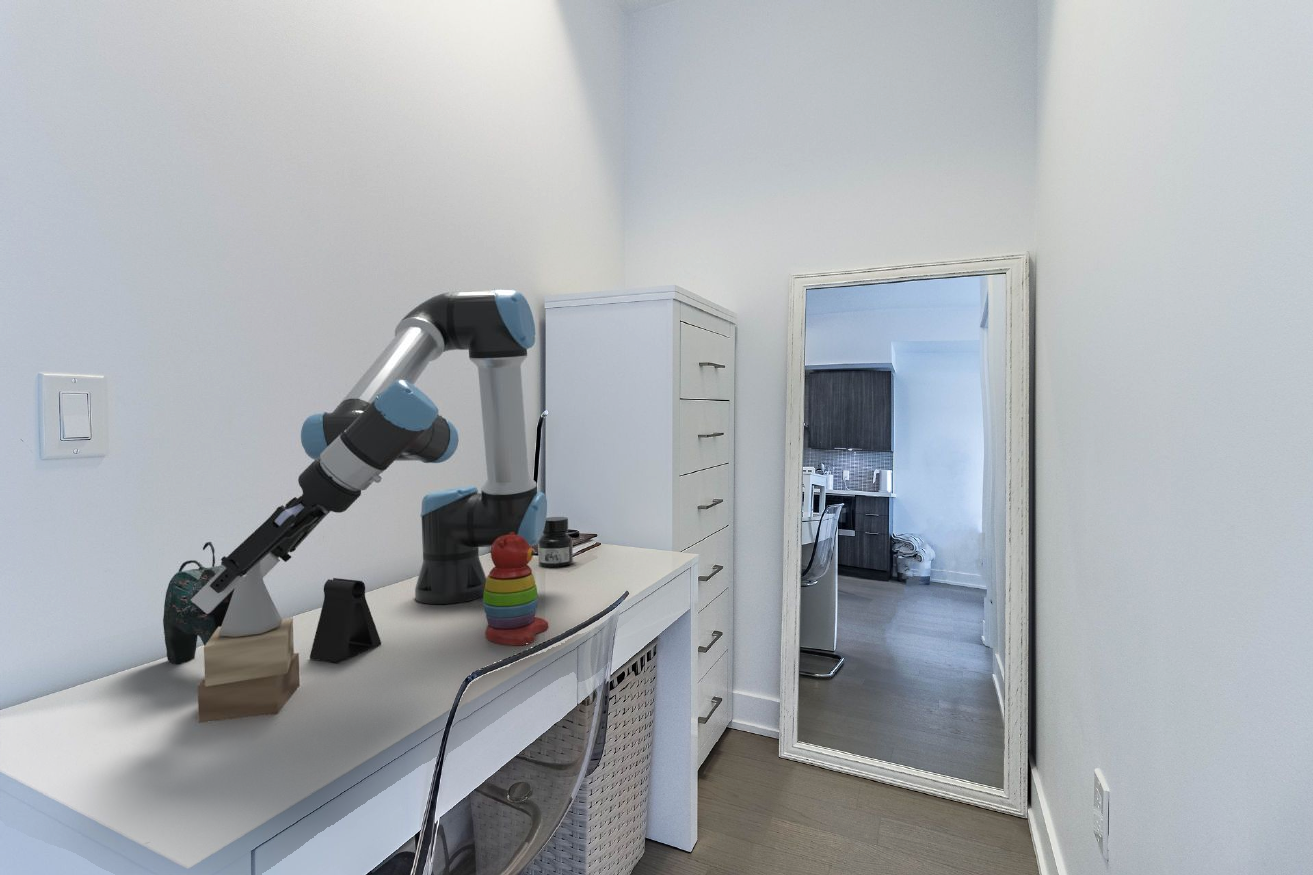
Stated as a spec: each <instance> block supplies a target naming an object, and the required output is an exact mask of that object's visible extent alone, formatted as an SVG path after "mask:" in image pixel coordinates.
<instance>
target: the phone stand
mask: <svg viewBox="0 0 1313 875" xmlns="http://www.w3.org/2000/svg"><path fill="white" fill-rule="evenodd" d="M318 618H319V619H318V623H317V627H316V630H315V635H314V638H313V642H312V645H311V646H312V647H311V650H310V653H309V654H310V655H309V659H310V660H317V661H322V662H329V663H334V664H341V663H343V662H344V661H347V660H349V659H353V658H355V657H356V656H359V655H361V654H363V653H366V652H368V651H371V650H372V649H375V648H377V647H380V646H381V645H382V640H381V637H380V634H379V633H378V632H379V631H378V630H377V629H378V628H377V627H376V624H375V621H374V619H373V618H374V617H373V615H372V613H371V610H370V607H369V604H368V602H367V599H366V585H365V583H364V581H363V580H355V579H346V578H338V577H337V578H336V577H333V578H332V579H329V578H328V579H327V580H326V582H325V583H324V585H323V603H322V607H321V611H320V615H319V617H318ZM379 645H380V646H379ZM370 649H371V650H370Z"/></svg>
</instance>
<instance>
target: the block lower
mask: <svg viewBox="0 0 1313 875" xmlns="http://www.w3.org/2000/svg"><path fill="white" fill-rule="evenodd" d="M300 685H301V684H300V656H299V652H295V653H294V652H293V656H292V659H291V663H290V666H289V670H288V673H286V674H280V675H274V676H268V677H261V678H255V679H249V680H243V681H237V682H231V683H224V684H218V685H212V686H206V687H205V678H204V679H203V680H202V681H201V682H200V683H198V684H197V707H198V708H197V709H198V723H199V724H200V723H208V721H209V723H210V721H211V722H218V721H228V719H229V720H236V719H245V718H247V719H248V718H254V717H255V718H256V717H263V716H272V715H278V714H279V713H280V712H281V711H282V709H283V708H284V706H285V705H286V704H287V703H288V701H289V700H290V699H291V698H292V696H293V695H294V694H295V692H296V691H297V690H298V689H299V687H300ZM297 688H298V689H297ZM286 702H287V703H286Z"/></svg>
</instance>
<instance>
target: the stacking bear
mask: <svg viewBox="0 0 1313 875" xmlns="http://www.w3.org/2000/svg"><path fill="white" fill-rule="evenodd" d="M533 556H534V549H533V546H530V545H529V544H528V543H527V542H526V541H525V539H524V538H523V537H521V536H519V535H515V533H514V532H511V533H510V534H509V535H504V536H501V537H499V538H497V539H496V540H495V541H494V542H493V544H492V547H490V558H491V561H492V563H493V565H494V567H493V568H491V569H490V571H489V572H488V573H489V574H488V575H486V583H485V589H484V595H483V596H482V597H483V598H482V599H483V600H482V601H483V610H484V613H485V617H486V621H487V627H486V628H485V629H486V630H485V632H484V633H485V634H484V636H485V638H486V639H487V640H488V641H491V643H492V642H493V643H496V644H500V645H506V646H525V645H524V644H526V643H530V644H532V642H531V641H533V642H534V640H535V635H537V634H538V633H537V632H539V633H542V632H544V631H543V630H545V631H546V630H548V629H549V623H548V621H547V620H546V619H545V618H543V617H538V616H536V613H537V608H538V595H539V594H538V587H537V585H536V580H535V577H534V574H533V570H532V568H531V567H530V566H529V565H528V564H529V563H530V562H531V561H532V559H533ZM541 631H542V632H541ZM536 633H537V634H536ZM526 645H527V644H526Z"/></svg>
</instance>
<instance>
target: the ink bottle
mask: <svg viewBox="0 0 1313 875" xmlns="http://www.w3.org/2000/svg"><path fill="white" fill-rule="evenodd" d="M568 532H569V518H568V517H565V516H551V517H550V516H549V517H546V522H545V527H544V531H543V534H542V536H541V538H540V540H539V542H538V543H537V550H538V551H537V553H538V555H537V557H538V558H537V559H538V565H539V566H541V567H543V568H544V567H545V568H562V566H563V567H567V566H569V565H571V564H573V562H574V561H573V560H574V556H573V554H574V553H573V539H572V536H570V535H569V534H568Z"/></svg>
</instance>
